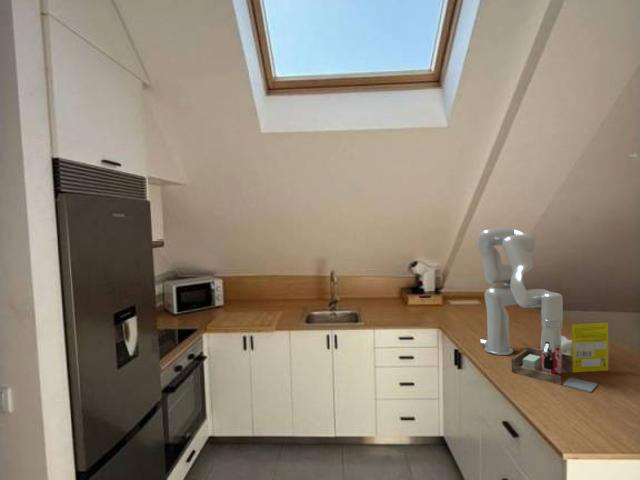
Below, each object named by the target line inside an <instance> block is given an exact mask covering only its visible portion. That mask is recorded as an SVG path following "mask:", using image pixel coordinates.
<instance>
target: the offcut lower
mask: <svg viewBox="0 0 640 480" xmlns="http://www.w3.org/2000/svg"><path fill="white" fill-rule="evenodd" d="M521 367H524V366H521ZM525 368H529V367H525ZM529 369H533V368H529ZM534 370H538V371H542V363H541V364H540V365H538V366H537V367H536V368H535V369H534Z"/></svg>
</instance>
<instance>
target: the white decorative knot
mask: <svg viewBox="0 0 640 480" xmlns="http://www.w3.org/2000/svg"><path fill="white" fill-rule="evenodd" d="M560 348H561V350H562V354H566V355H571V356H572V339H568V337H566V336H564V335H561V347H560Z"/></svg>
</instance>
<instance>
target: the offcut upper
mask: <svg viewBox="0 0 640 480" xmlns="http://www.w3.org/2000/svg"><path fill="white" fill-rule="evenodd" d="M540 364H541V356H536V355H531V354H529V355H528V356H526V357H525V358H524V359H523V366H524V367H529V368H533V369H535V368H536V367H537V366H538V365H540Z"/></svg>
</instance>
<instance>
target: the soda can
mask: <svg viewBox="0 0 640 480" xmlns="http://www.w3.org/2000/svg"><path fill="white" fill-rule="evenodd" d="M548 351H550V352H551V351H552V350H548ZM548 354H549V355H551V353H548ZM552 360H553V370H551V369H547V368H544V353H543V351H542V370H541V371H542V372H546V373H550V374H554V375H558V376H561V374H562V371H561V370H562V350H561V348H560V345H559V346H558V347H557V348H556V350H555V352H554V353H553V358H552Z"/></svg>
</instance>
